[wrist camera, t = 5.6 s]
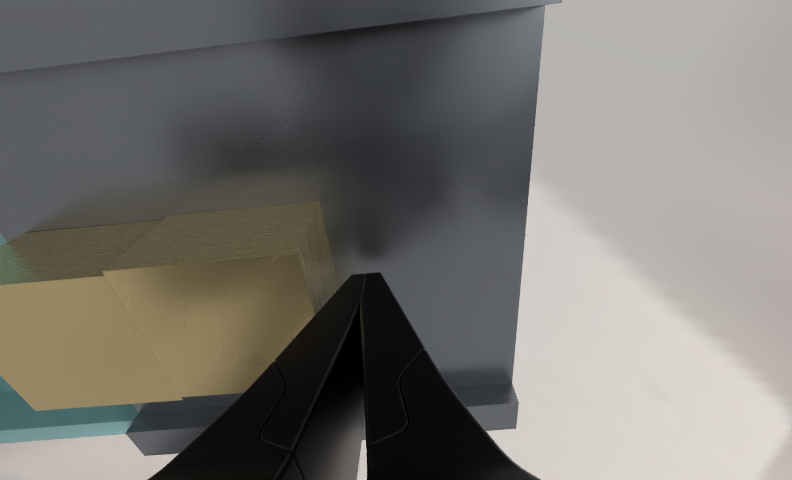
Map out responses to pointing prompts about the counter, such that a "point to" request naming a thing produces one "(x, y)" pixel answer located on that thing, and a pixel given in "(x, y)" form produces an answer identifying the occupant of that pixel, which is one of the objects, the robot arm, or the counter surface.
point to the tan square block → (225, 290)
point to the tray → (57, 417)
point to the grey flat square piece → (293, 149)
